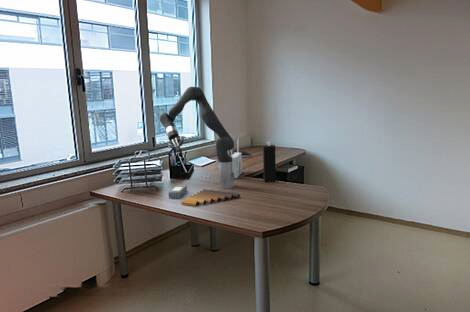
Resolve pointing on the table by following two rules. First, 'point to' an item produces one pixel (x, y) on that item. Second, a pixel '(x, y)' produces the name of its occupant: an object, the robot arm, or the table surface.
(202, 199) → the pan flute
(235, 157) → the skincare box
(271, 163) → the black bottle
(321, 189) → the table surface
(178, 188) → the slate block
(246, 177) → the table surface
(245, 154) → the wireless router
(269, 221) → the table surface
